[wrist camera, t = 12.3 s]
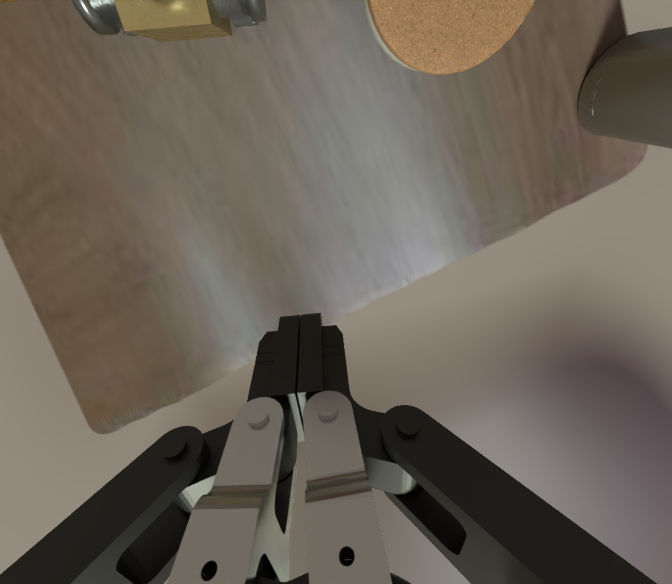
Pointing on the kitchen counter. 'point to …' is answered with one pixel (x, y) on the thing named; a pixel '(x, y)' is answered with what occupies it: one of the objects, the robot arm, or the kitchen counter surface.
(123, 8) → the ball valve
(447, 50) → the lidded bowl
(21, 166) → the kitchen counter surface
